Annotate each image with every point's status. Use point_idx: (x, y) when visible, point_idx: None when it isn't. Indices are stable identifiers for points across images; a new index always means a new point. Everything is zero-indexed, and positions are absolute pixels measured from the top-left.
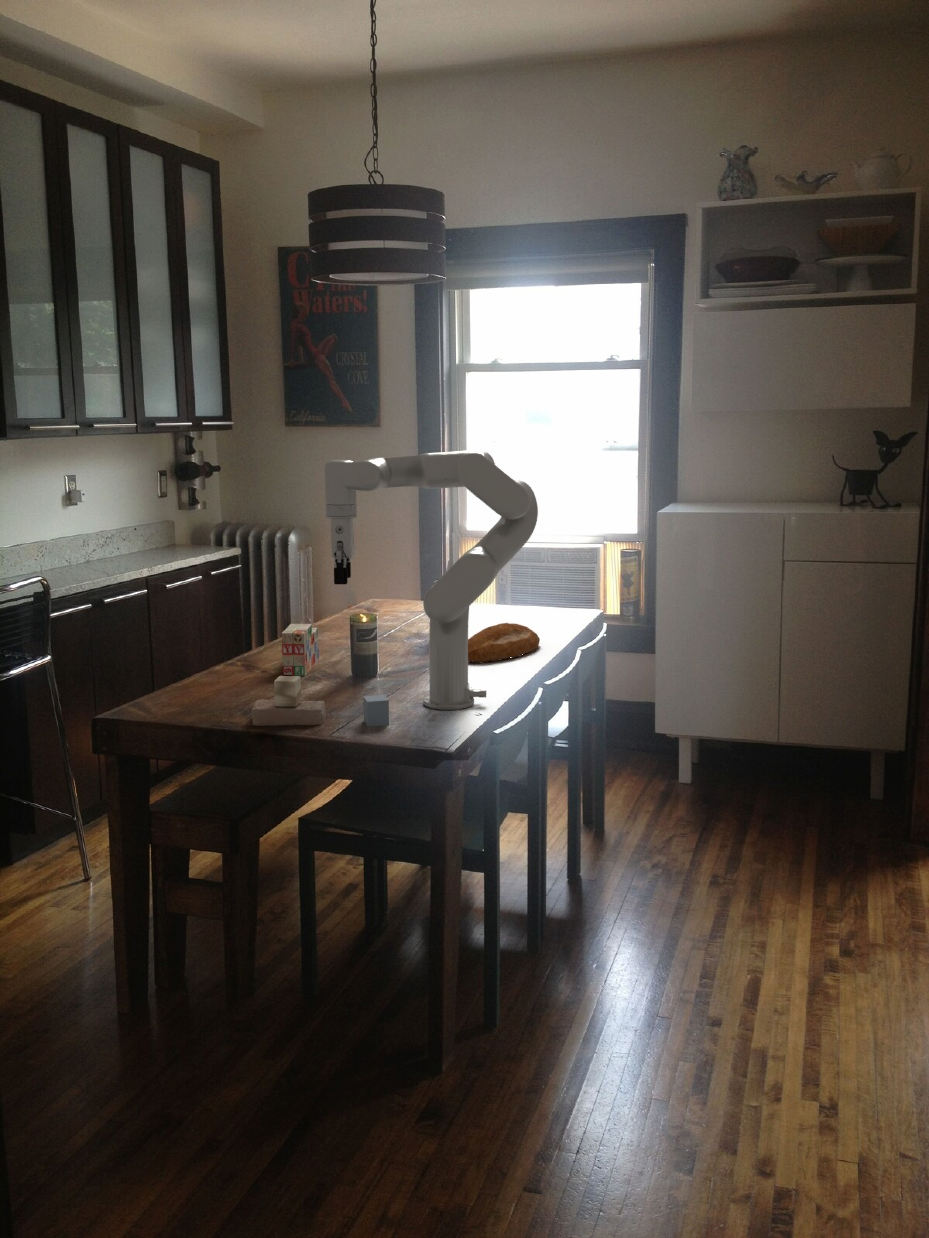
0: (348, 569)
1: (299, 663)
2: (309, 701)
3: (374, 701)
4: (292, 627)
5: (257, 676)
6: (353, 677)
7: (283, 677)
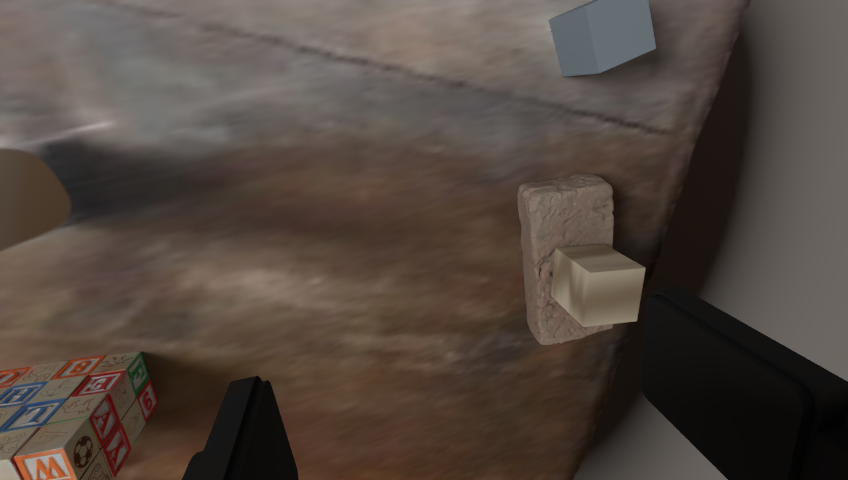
0: (253, 466)
1: (127, 387)
2: (544, 229)
3: (651, 26)
4: None
5: (187, 453)
6: (107, 212)
7: (600, 311)
